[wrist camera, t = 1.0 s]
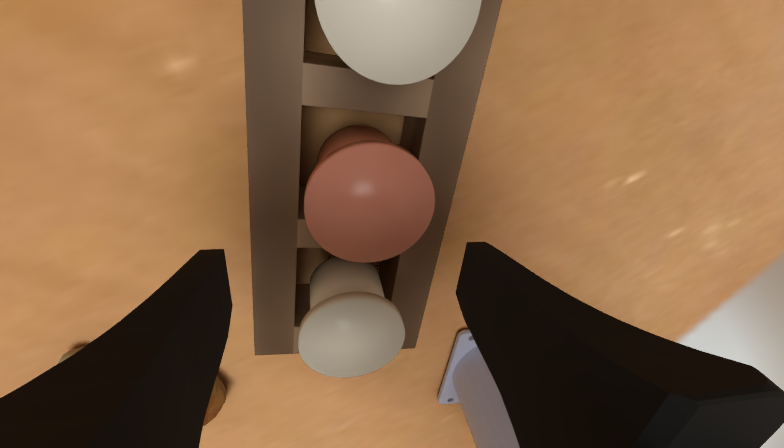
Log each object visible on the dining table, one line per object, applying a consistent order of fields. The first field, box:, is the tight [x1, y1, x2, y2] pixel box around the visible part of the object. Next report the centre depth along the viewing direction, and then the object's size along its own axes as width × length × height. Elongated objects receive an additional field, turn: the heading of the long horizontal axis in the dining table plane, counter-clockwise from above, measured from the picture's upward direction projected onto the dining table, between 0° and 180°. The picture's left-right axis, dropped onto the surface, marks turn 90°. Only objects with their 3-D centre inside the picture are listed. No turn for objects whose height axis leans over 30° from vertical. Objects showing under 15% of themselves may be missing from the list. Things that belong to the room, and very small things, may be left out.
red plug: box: [304, 125, 435, 263], centre depth 15 cm, size 5×5×4 cm
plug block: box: [242, 0, 502, 355], centre depth 18 cm, size 9×22×4 cm, turn 171°
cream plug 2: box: [298, 256, 405, 378], centre depth 18 cm, size 5×5×4 cm
